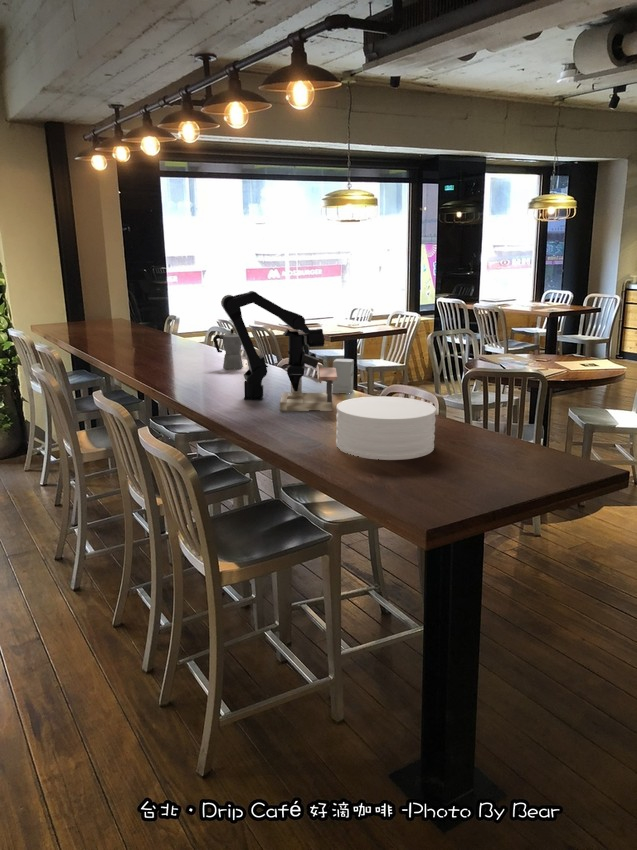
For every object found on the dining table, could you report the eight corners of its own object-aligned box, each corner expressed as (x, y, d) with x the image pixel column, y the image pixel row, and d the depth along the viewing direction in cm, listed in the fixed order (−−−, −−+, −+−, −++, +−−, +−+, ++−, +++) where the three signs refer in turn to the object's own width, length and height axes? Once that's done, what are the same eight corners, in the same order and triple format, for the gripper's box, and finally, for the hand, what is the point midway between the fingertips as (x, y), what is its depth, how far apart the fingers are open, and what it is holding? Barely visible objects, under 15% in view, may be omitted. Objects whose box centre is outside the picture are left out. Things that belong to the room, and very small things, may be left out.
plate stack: (318, 440, 201) (318, 402, 198) (395, 428, 214) (397, 392, 211) (371, 466, 177) (372, 423, 174) (454, 451, 190) (456, 411, 188)
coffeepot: (246, 365, 322) (245, 327, 317) (248, 369, 313) (247, 330, 308) (213, 366, 319) (211, 328, 314) (214, 370, 310) (213, 330, 305)
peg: (290, 397, 256) (290, 373, 254) (291, 394, 260) (291, 371, 258) (301, 397, 256) (301, 373, 254) (301, 395, 260) (301, 371, 258)
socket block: (280, 411, 234) (279, 376, 231) (282, 399, 251) (282, 367, 248) (336, 411, 234) (337, 376, 231) (335, 400, 251) (335, 367, 248)
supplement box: (350, 394, 262) (351, 361, 259) (331, 393, 263) (332, 361, 260) (353, 390, 269) (354, 358, 266) (335, 389, 270) (335, 358, 267)
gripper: (317, 351, 244) (317, 394, 248) (317, 344, 262) (317, 384, 266) (287, 351, 244) (287, 394, 248) (288, 344, 262) (288, 383, 266)
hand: (296, 388), depth 257 cm, fingers open, 9 cm apart
